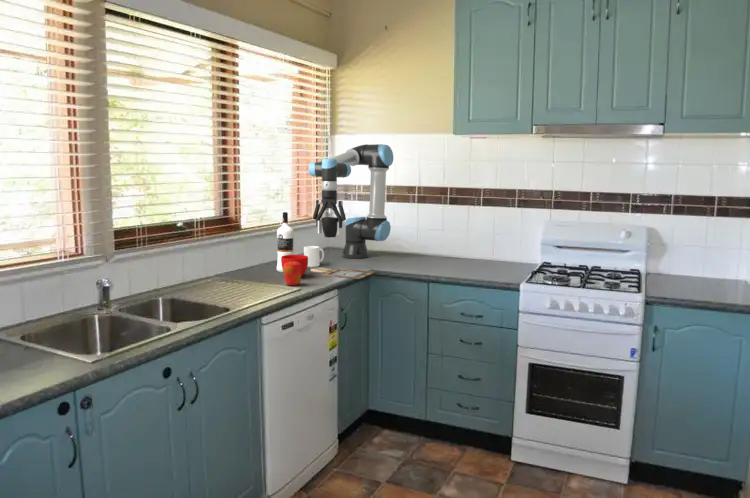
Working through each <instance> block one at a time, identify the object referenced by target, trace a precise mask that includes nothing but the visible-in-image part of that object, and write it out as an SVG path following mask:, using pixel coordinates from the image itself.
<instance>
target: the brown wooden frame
mask: <svg viewBox="0 0 750 498" xmlns="http://www.w3.org/2000/svg"><path fill="white" fill-rule="evenodd" d="M343 270H346V271H344V272H342V273H341V274H340V273H337V274H333V273H336V272H339V271H343ZM354 271H356V272H354ZM347 272H351V273H347ZM344 273H345V274H347V275H342V274H344ZM358 273H364V274H361V275H359V276H350V274H351V275H358ZM375 273H376V271H373V270H372V271H371V270H362V269H361V270H360V269H351V268H350V269H349V268H339V267H338V268H336V269H332V271H329V272H325V273H320V276H323V277H331V276H332V277H333V278H342V277H345V278H344V279H353V280H361V279H363V278H366V277H368V276H371V275H373V274H375Z"/></svg>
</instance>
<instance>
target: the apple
mask: <svg viewBox="0 0 750 498" xmlns="http://www.w3.org/2000/svg"><path fill="white" fill-rule="evenodd" d="M283 271H284V272H283V277H284V283H285V284H286V285H288V286H298V285H299V284H300V283H301V279H302V277H301V271H302V266H301V264H300V263H298V262H295V261H293V259H292V261H289V262H287V263H285V264H284V266H283Z"/></svg>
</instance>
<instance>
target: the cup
mask: <svg viewBox="0 0 750 498" xmlns="http://www.w3.org/2000/svg"><path fill="white" fill-rule="evenodd" d="M320 252H321V253H320ZM303 255H305V256H308V266H307V268H319V267H320V262H322V261H324V258H325V252H324V249H323V248H321V247H320V246H319V245H318V246H316V245H307V246H306V245H305V246H304V247H303ZM320 255H321V257H320Z"/></svg>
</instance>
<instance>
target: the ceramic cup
mask: <svg viewBox="0 0 750 498" xmlns="http://www.w3.org/2000/svg"><path fill="white" fill-rule="evenodd" d="M292 259H293V261H295V262H298V263H300V264H301V266H302V271H301V278H302V277H304V275H305V273H306V272H307V269H308V267H307V266H308V256H305V255H304V254H294V255H285V256H282V257H281V263H282V269H283V266H284V264H285V263H287V262H289V261H292Z"/></svg>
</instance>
